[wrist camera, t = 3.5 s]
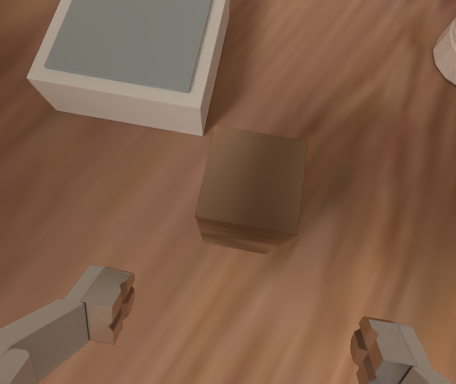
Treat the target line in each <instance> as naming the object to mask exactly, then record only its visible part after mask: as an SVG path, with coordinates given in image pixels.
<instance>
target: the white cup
mask: <svg viewBox="0 0 456 384" xmlns="http://www.w3.org/2000/svg"><path fill="white" fill-rule="evenodd" d="M433 54H434V60H435V65H436V66H437V68H438V69H439V71H440V72H441V73H442V75H443V76H444V77H445V78H446V79H447V80H449V81H450V82H452V83H453V84H455V85H456V17H455V19H454V20H453V21H452V22H451V23H450V25H449V26H448V27H447V28H446V29H445V30H444V32H443V33H442V34H441V35H440V36H439V38H438V39H437V42H436V44H435V47H434V49H433Z"/></svg>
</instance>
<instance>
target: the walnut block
mask: <svg viewBox="0 0 456 384" xmlns="http://www.w3.org/2000/svg"><path fill="white" fill-rule="evenodd" d="M307 145H308V142H307V141H301V140H295V139H290V138H284V137H278V136H273V135H267V134H261V133H256V132H250V131H244V130H239V129H233V128H227V127H222V126H216V125H215V126H214V131H213V135H212V140H211V145H210V149H209V154H208V159H207V163H206V168H205V172H204V177H203V182H202V186H201V191H200V196H199V200H198V205H197V210H196V214H195V217H196V220H197V223H198V226H199V229H200V232H201V236H202V239H203V242H204V243H208V244H214V245H219V246H225V247H230V248H235V249H241V250H246V251H252V252H257V253H263V254H266V253H268V252H270V251H271V250H273V249H275V248H276V247H278V246H280V245H281V244H283V243H285V242H286V241H288V240H290V239H291V238H293V237H295V236H296V235H298V226H299V217H300V208H301V199H302V190H303V181H304V172H305V163H306V154H307Z"/></svg>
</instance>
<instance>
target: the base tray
mask: <svg viewBox="0 0 456 384" xmlns="http://www.w3.org/2000/svg"><path fill="white" fill-rule="evenodd" d="M229 7H230V0H61V1H60V3H59V6H58V8H57V10H56V12H55V15H54V17H53V19H52V21H51V24H50V26H49V28H48V30H47V33H46V35H45V37H44V39H43V42H42V44H41V46H40V48H39V51H38V53H37V55H36V57H35V60H34V62H33V64H32V66H31V69H30V71H29V73H28V75H27V79H28V81H29V82H30V83H31V84H32V85H33V86H34V87H35V88H36V89H37V90H38V91H39V92H40V93H41V94H42V96H43V97H44V98H45V99H46V100H47V101H48V102H49V103H50V104H51V105H52V106H53V107H54V108H55V110H57V111H63V112H68V113H74V114H79V115H85V116H91V117H96V118H102V119H108V120H113V121H119V122H125V123H130V124H136V125H141V126H147V127H153V128H158V129H164V130H170V131H175V132H181V133H187V134H192V135H198V136H203V133H204V129H205V124H206V120H207V115H208V111H209V106H210V102H211V97H212V93H213V89H214V84H215V80H216V75H217V71H218V66H219V62H220V57H221V53H222V48H223V44H224V39H225V35H226V31H227V26H228V22H229Z"/></svg>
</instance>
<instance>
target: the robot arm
mask: <svg viewBox="0 0 456 384" xmlns="http://www.w3.org/2000/svg"><path fill="white" fill-rule="evenodd" d="M134 281H135V278H134V273H132V272H127V271H123V270H118V269H114V268H109V267H103V266H98V265H94V264H92V265H90V266H89V267H88V268H87V269H86V270H85V272H84V273H83V274H82V276H81V277H80V278H79V280H78V281H77V282H76V284H75V285H74V286H73V287H72V289H71V290H70V291H69V293H68V294H67V295H66V297H65V298H64V299H61V298H59V299H57V300H55V301H53V302H51V303H49V304H47V305H45V306H44V307H42V308H40V309H38V310H36V311H34V312H32V313H30V314H28V315H26V316H24V317H22V318H20V319H18V320H16V321H14V322H13V323H11V324H9V325H7V326H5V327H3V328H1V329H0V384H37V383H38V382H39V381H40V380H42V379H43V378H44V377H45V376H47V375H48V374H49V373H50V372H52V371H53V370H54V369H56V368H57V367H58V366H59V365H61V364H62V363H63V362H64V361H66V360H67V359H68V358H70V357H71V356H72V355H73V354H75V353H76V352H77V351H78V350H80V349H81V348H82V347H83V346H85V345H86V344H87V343H89V341H94V342H100V343H106V344H112V345H114V344H115V342H116V340H117V338H118V336H119V334H120V331H121V329H122V320H123V319H125V318H126V317H128V315H129V313H130V311H131V308H132V305H133V302H134V295H135V290H134V288H133V287H132V285H133V283H134ZM359 325H360V329H359V330H357V331H355V332H354V334H353V336H352V338H351V345H350V347H351V355H352V359H353V361H354V362H355V363H356V364H357V366H358V367H359V369H358V371H357V373H356V374H357V377H358V381H359V384H452V383H451V382H450V381H449V380H447V379H446V378H445V377H444V376H443V375H442V374H441V373H440V372H438V371H434V369H433V367H432V365H431V363H430V361H429V359H428V357H427V355H426V353H425V351H424V349H423V347H422V345H421V343H420V341H419V339H418V337H417V335H416V333H415V331H414V330H413V328H412V327H411V326H410V325H409V324H404V323H399V322H392V321H388V320H382V319H377V318H371V317H366V316H364V317H363V318H362V319H361V320H360V322H359Z"/></svg>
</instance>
